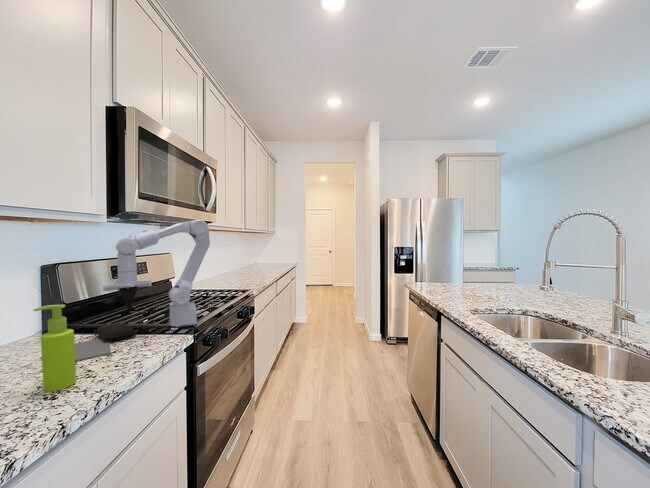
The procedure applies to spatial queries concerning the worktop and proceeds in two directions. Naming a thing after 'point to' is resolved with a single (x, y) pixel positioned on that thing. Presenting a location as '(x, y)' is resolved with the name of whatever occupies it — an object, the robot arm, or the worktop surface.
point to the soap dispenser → (57, 352)
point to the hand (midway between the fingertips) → (129, 308)
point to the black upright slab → (115, 332)
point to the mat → (91, 349)
